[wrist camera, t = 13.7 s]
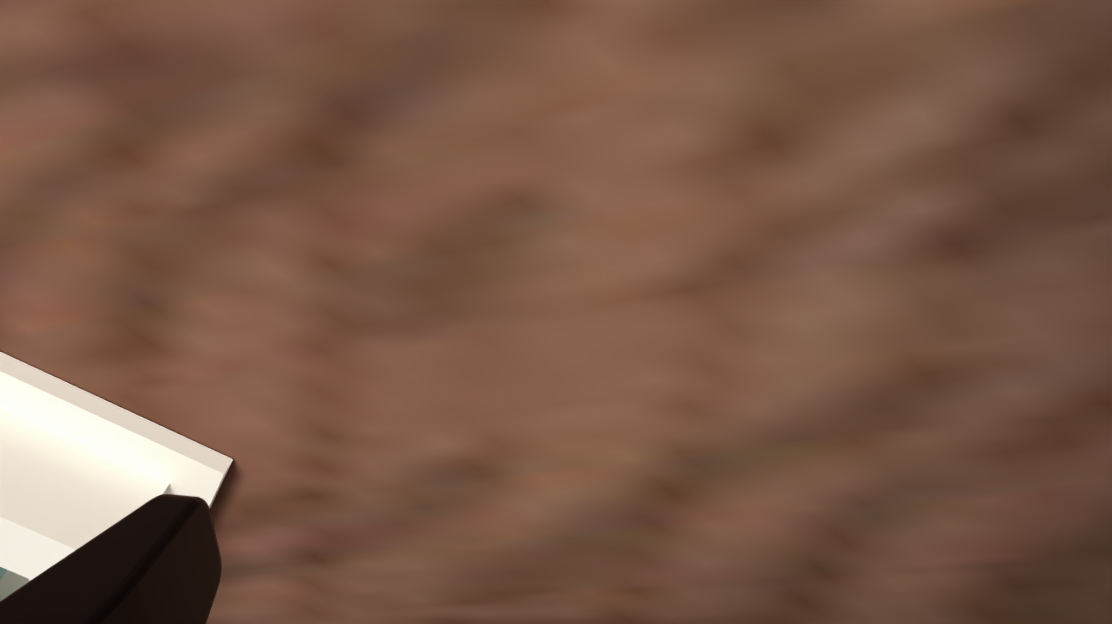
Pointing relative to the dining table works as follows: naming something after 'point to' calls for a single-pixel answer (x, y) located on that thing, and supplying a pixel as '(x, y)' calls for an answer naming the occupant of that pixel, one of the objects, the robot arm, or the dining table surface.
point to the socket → (80, 468)
